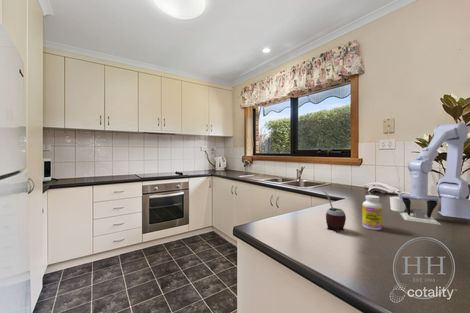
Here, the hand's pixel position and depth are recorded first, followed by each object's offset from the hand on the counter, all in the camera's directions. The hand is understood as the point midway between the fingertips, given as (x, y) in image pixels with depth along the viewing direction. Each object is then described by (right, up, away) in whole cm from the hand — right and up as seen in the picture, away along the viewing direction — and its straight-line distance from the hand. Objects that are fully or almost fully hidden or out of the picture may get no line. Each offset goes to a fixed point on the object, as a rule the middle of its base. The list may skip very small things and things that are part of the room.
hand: (418, 215), depth 94 cm
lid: (0, -1, 0) cm, 1 cm away
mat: (0, -2, 0) cm, 2 cm away
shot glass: (+1, -2, +13) cm, 14 cm away
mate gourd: (-44, -2, -12) cm, 46 cm away
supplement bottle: (-28, -2, -10) cm, 30 cm away
